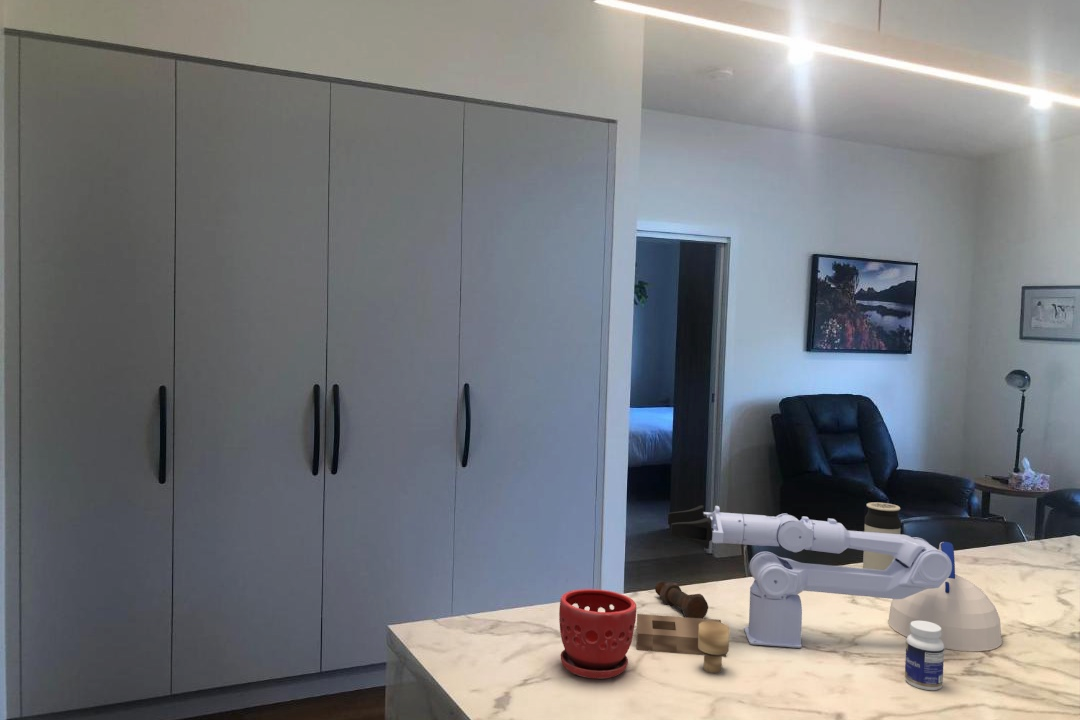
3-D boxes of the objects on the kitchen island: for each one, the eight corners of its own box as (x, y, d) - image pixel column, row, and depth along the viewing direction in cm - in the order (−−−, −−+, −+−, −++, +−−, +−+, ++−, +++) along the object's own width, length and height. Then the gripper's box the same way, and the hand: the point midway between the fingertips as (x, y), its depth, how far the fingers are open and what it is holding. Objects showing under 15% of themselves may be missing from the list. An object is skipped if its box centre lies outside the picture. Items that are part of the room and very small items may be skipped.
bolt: (663, 604, 169) (700, 627, 155) (646, 595, 168) (681, 616, 154) (675, 580, 170) (712, 601, 156) (658, 571, 169) (694, 590, 155)
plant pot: (613, 692, 123) (615, 618, 122) (543, 671, 130) (545, 601, 129) (646, 664, 134) (648, 596, 133) (580, 646, 141) (582, 581, 140)
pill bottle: (897, 676, 131) (900, 619, 131) (929, 675, 132) (931, 618, 132) (917, 691, 126) (919, 632, 125) (950, 691, 126) (952, 631, 126)
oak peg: (726, 664, 134) (727, 622, 134) (729, 677, 129) (731, 633, 129) (696, 662, 135) (697, 620, 135) (698, 674, 130) (700, 631, 130)
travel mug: (904, 584, 182) (907, 509, 181) (870, 583, 182) (873, 508, 182) (889, 574, 190) (892, 502, 189) (857, 573, 190) (860, 501, 190)
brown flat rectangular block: (720, 635, 148) (720, 619, 148) (726, 656, 138) (726, 639, 138) (636, 629, 150) (637, 613, 150) (636, 649, 140) (637, 633, 140)
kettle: (995, 623, 158) (999, 537, 158) (1009, 661, 139) (1013, 563, 139) (888, 607, 167) (891, 524, 166) (887, 640, 148) (891, 547, 147)
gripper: (736, 499, 153) (667, 494, 155) (749, 518, 139) (673, 512, 140) (733, 533, 154) (665, 529, 155) (746, 556, 139) (671, 550, 141)
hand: (669, 523), depth 148 cm, fingers open, 7 cm apart
